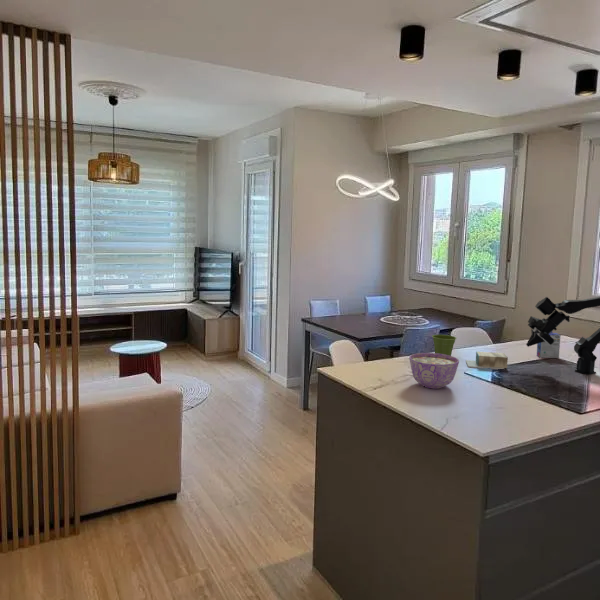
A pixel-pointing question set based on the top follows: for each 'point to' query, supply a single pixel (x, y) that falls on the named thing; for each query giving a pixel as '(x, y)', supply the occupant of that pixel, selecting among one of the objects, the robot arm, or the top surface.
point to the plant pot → (443, 344)
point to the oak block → (491, 359)
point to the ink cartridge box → (549, 347)
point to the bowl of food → (433, 369)
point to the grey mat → (474, 365)
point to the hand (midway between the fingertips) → (527, 345)
